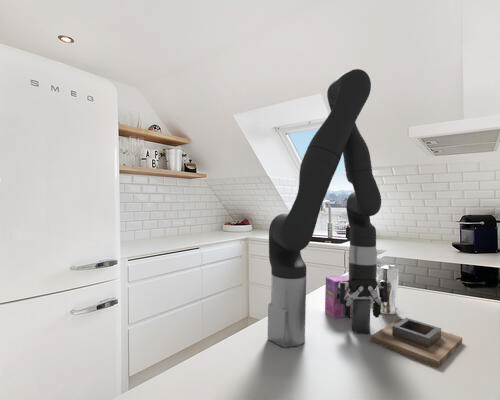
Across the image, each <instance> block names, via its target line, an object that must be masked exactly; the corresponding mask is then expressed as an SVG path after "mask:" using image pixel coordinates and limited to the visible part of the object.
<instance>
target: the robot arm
mask: <svg viewBox="0 0 500 400" xmlns="http://www.w3.org/2000/svg"><path fill="white" fill-rule="evenodd" d="M371 81H372V80H371V78H370V76H369V74H368V73H367V71H365V70H364V69H360V68H355V69H350V70H348V71H346V72H344V73H343V74H341V76H339V77H337V78H335V80H333V81H332V83H330V85H329V86H328V88H327V92H326V93H327V95H326V97H327V103H328V105H329V109H330V113H329V114H328V116H327V117H326V119H324V121H323V122H322V124H321V126H320V127H319V128H318V130H317V131H316V132H315V134H314V135H313V137H312V138H311V140H310V142H309V144H308V146H307V148H306V151H305V153H304V154H303V158H302V161H301V163H300V168H299V176H298V177H299V178H298V188H297V189H298V190H297V194H296V197H295V200H294V202H293V203H292V206H291V209H290V210H289V212H288V213H280V214H277V216H275V217H274V218H273V219H272V220H271V222H270V225H269V228H268V229H269V230H268V257H269V258H268V259H269V263H270V267H271V268H270V269H271V278H270V279H271V281H270V282H271V285H270V302H269V303H268V305H267V340H269V341H271V342H273V343H274V344H276V345H278V346H280V347H282V348H284V349H286V348H287V347H289V348H290V347H298V346H300V345H302V344H304V343H305V341H306V307H307V306H306V302H307V265H306V262H305V261H304V260H303V257H302V253H301V251H302V250H304V249H306V248H307V246H309V244H310V242H311V240H312V239H313V235H314V232H315V229H316V226H317V222H318V219H319V214H320V211H321V209H322V205H323V202H324V200H325V197H326V196H327V193H328V190H329V187H330V185H331V182H332V180H333V177H334V176H335V174H336V171H337V168H338V166H339V163H340V161H341V158H342V157H343V163H344V170H345V177H346V180H347V182H349V183H350V184H351V185H352V188H353V190H354V191H353V192H351V193H350V194H349V195H348V197H347V200H346V207H345V208H346V214H347V220H348V226H349V229H350V231H349V249H348V275H349V280H348V282H342V281H340V280H339V281H338V284H337V301H338V302H339V303H340V304H343V314H344V316H345V317H344V318H346V319H348V320H349V319H351V316H350V308H351V306H350V304H351V303H352V301H353V300H355V299H356V298H357V297H369V296H371V298H372V299H373V300H372V301H373V302H372V315H373V317H374V318H380V316H381V314H382V313H381V304H382V303H384V302H388V290H387V282H385V281H384V280H382V279H380V280H379V281H376V277H377V265H378V264H377V257H378V251H377V229H376V227H375V226H374V225H373V224H372V223H371V218H370V217H373V216H375V215H377V214H378V213H379V212H380V209H381V207H382V196H381V192H380V189H379V186H378V185H377V182H376V179H375V177H374V175H373V167H372V160H371V153H370V151H369V147H368V145H367V142H366V141H365V139H364V137H363V136H362V134H361V132H360V130H359V128H358V126H357V123H356V121H357V119H358V117H359V115H360V113H361V112H362V110H363V108H364V107H365V105H366V102H367V100H368V99H369V96H370V94H371V91H372V89H371V88H372V82H371ZM377 285H378V287H379V297H378V295H377V294H376V292H375V291H374V290H376V289H375V288H376V287H377ZM347 286H348V287H349V288H350V289H349V290H348V292H347V293H346V296H345V298H344V295H345V290H346V288H347ZM352 293H353V294H352Z"/></svg>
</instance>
